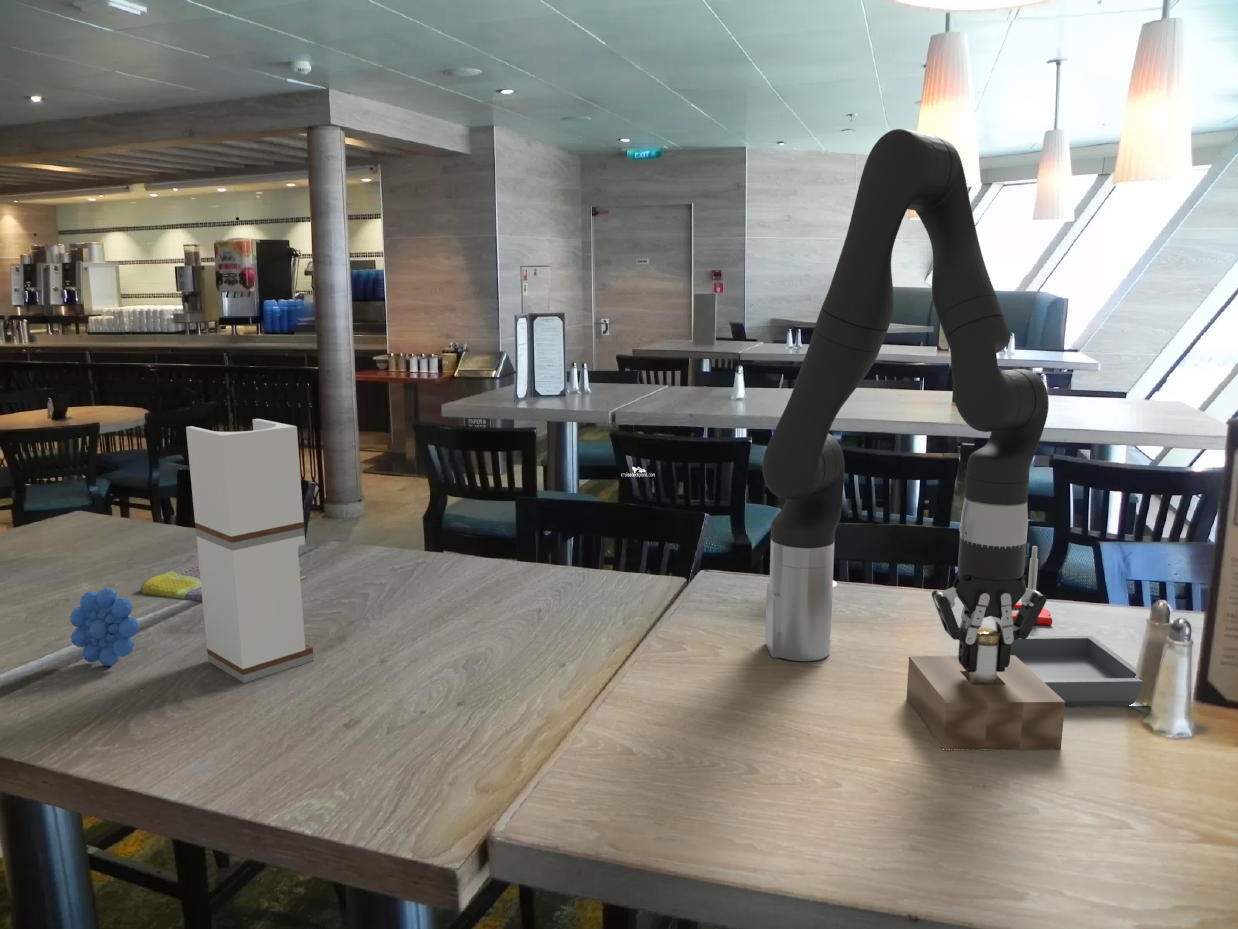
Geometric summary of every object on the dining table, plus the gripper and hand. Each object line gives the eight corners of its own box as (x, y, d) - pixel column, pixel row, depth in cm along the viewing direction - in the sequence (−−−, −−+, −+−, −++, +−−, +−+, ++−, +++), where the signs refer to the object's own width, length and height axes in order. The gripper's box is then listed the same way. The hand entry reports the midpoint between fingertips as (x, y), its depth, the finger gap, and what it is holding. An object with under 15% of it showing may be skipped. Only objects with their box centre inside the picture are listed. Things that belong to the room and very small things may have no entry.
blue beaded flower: (163, 658, 141) (155, 581, 138) (128, 676, 134) (119, 596, 132) (99, 650, 144) (90, 575, 141) (62, 668, 137) (52, 589, 135)
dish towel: (244, 609, 163) (243, 594, 162) (134, 595, 170) (132, 581, 170) (308, 579, 179) (307, 565, 178) (205, 568, 187) (203, 554, 186)
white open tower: (313, 660, 139) (296, 426, 133) (244, 683, 132) (222, 435, 125) (276, 641, 147) (258, 418, 140) (208, 661, 139) (185, 426, 133)
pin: (971, 728, 117) (977, 637, 115) (962, 717, 120) (968, 627, 118) (997, 728, 117) (1004, 636, 115) (987, 716, 120) (993, 627, 118)
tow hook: (989, 607, 161) (1003, 624, 152) (994, 534, 160) (1008, 546, 150) (1041, 610, 160) (1058, 627, 151) (1047, 536, 158) (1064, 548, 149)
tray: (1028, 707, 123) (1030, 682, 122) (981, 659, 138) (982, 636, 138) (1150, 706, 123) (1153, 681, 122) (1089, 658, 139) (1091, 635, 138)
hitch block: (943, 750, 112) (946, 703, 111) (906, 698, 126) (908, 656, 124) (1060, 749, 112) (1065, 701, 111) (1011, 697, 126) (1014, 655, 124)
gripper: (945, 544, 110) (937, 683, 114) (1065, 543, 110) (1053, 681, 114) (924, 528, 118) (917, 658, 121) (1037, 527, 118) (1026, 657, 121)
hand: (983, 669), depth 117 cm, fingers closed on pin, 3 cm apart
